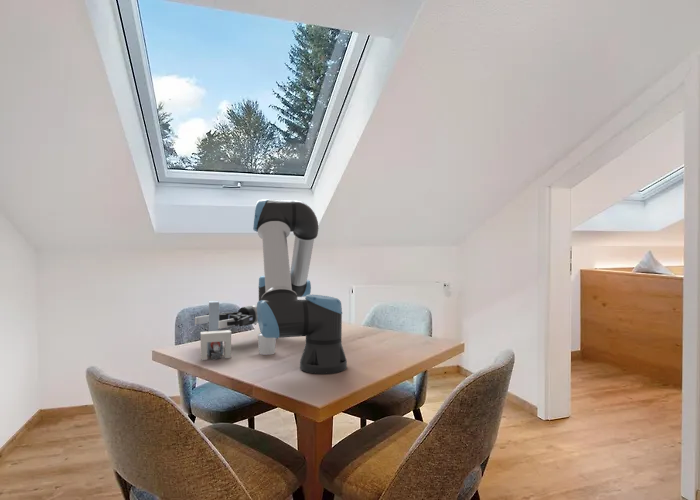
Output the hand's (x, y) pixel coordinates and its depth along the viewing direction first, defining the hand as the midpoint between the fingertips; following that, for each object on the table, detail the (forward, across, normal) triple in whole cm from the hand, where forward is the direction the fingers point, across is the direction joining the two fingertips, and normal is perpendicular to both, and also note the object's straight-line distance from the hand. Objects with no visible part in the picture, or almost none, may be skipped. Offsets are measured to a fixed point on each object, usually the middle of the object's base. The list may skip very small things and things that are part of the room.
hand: (206, 322), depth 161 cm
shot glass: (-12, -19, -11) cm, 25 cm away
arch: (+4, -10, -11) cm, 15 cm away
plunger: (+4, -11, -8) cm, 14 cm away
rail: (-2, -2, -11) cm, 11 cm away
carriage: (-1, -3, -11) cm, 11 cm away
